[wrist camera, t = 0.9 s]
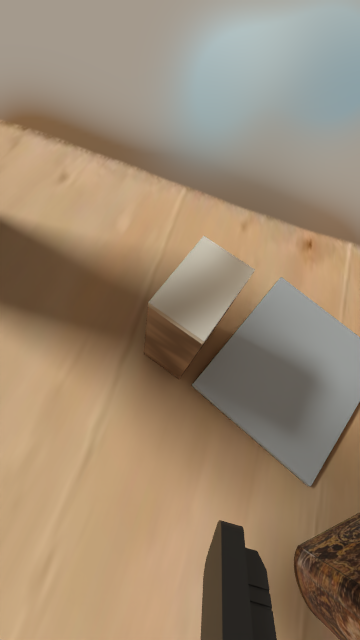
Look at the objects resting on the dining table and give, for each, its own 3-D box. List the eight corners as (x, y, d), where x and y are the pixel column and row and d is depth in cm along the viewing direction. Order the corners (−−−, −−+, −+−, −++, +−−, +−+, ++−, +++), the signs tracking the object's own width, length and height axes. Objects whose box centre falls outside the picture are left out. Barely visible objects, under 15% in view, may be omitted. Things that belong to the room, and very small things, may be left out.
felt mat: (191, 385, 30) (192, 384, 29) (278, 279, 35) (281, 276, 34) (307, 485, 28) (310, 486, 27) (381, 358, 33) (385, 357, 32)
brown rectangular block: (144, 353, 30) (148, 302, 19) (180, 306, 32) (203, 235, 21) (178, 379, 30) (204, 341, 19) (213, 329, 32) (255, 269, 21)
